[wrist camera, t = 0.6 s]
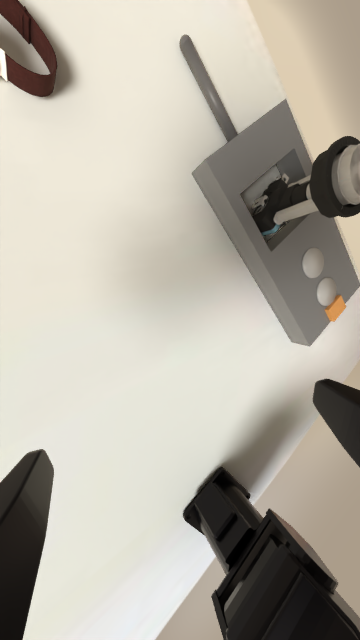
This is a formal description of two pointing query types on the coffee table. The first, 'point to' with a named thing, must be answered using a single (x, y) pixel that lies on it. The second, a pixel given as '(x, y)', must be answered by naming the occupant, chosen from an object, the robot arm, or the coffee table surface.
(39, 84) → the watch
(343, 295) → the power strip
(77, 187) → the coffee table surface
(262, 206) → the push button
